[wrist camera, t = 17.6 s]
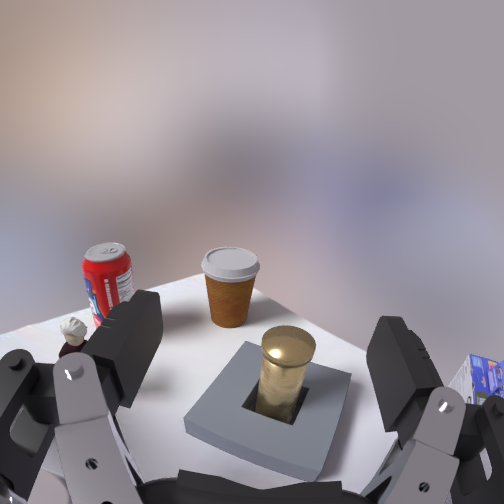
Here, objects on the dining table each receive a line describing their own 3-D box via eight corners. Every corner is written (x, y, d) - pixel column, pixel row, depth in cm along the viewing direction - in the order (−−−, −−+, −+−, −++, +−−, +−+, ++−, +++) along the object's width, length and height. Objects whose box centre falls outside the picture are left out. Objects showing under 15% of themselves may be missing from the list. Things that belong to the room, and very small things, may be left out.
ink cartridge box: (452, 472, 22) (521, 401, 16) (418, 466, 24) (483, 393, 18) (456, 419, 30) (507, 345, 24) (427, 412, 32) (474, 336, 26)
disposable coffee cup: (197, 306, 55) (196, 248, 50) (245, 300, 58) (248, 243, 53) (209, 338, 47) (208, 274, 42) (263, 329, 50) (269, 267, 45)
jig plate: (186, 432, 30) (183, 417, 28) (244, 357, 43) (245, 340, 42) (312, 482, 24) (320, 471, 23) (344, 389, 38) (351, 373, 36)
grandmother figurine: (74, 406, 30) (40, 335, 25) (71, 386, 33) (41, 315, 27) (125, 394, 34) (102, 322, 29) (118, 375, 37) (98, 303, 32)
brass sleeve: (245, 421, 32) (253, 350, 27) (262, 393, 37) (273, 320, 31) (285, 436, 30) (307, 367, 25) (299, 406, 35) (321, 334, 30)
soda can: (139, 345, 43) (125, 261, 37) (94, 345, 41) (73, 262, 35) (142, 316, 50) (132, 239, 44) (102, 317, 48) (87, 241, 42)
